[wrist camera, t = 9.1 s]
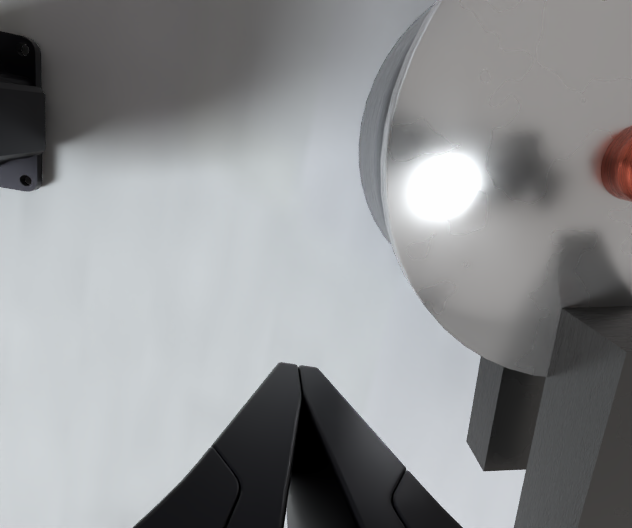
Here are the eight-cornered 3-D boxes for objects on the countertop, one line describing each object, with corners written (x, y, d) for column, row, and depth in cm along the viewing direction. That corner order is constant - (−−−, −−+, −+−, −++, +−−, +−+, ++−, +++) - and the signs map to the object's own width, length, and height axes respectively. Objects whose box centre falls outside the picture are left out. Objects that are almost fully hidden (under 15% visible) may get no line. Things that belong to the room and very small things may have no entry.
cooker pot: (373, -135, 17) (431, -304, 10) (719, -112, 18) (977, -249, 11) (345, 402, 25) (367, 503, 18) (582, 395, 26) (683, 488, 19)
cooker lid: (395, -154, 11) (454, -297, 7) (942, -128, 12) (1241, -240, 8) (361, 541, 19) (380, 643, 15) (687, 518, 20) (779, 609, 16)
